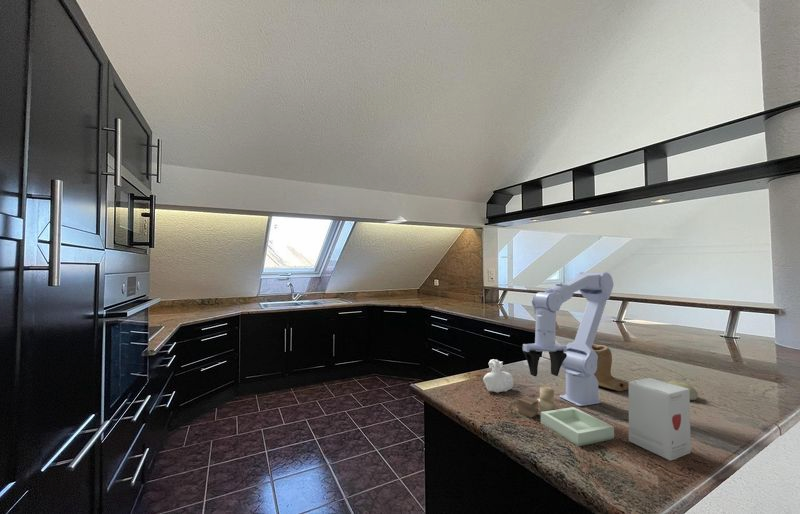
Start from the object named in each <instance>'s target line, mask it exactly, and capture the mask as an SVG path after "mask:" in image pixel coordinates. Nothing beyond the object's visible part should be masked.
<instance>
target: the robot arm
mask: <svg viewBox="0 0 800 514" xmlns="http://www.w3.org/2000/svg"><path fill="white" fill-rule="evenodd" d="M613 288H614V281H613V277H612V275H611V274H610V272H584V271H583V272H582V271H581V272H579V273H577V274H575V277H574V278H573V279H571V280H570V281H568V282H567V283H564V282H556V283H555V286H553V287H551V288H547V289H546V290H544V292H543V291H539V292H538V291H537V292H536V294H534V296H533V297H532V300H531V304H532V307H533V313H534V315H535V329H534V330H535V333H534V335H535V337H534V343H533V342H532V343H523V344H522V352H523V353H522V354H523V355H524V358H525V359H526V361H527V365H528V369H529V373H530V375H531V376H533V377H537V375H538V367H539V361H540V358H541V354H538V353H537V352H548V354H549V359H550V374H551V375H553V376H555V377H558V376H559V373H560V370H561V367H562V368H563V371H564V372H565V394H560V395H559V398H561V399H563V400H565V401H568V402H569V403H572V404H574V405H576V406H578V407H583V406H591V405H597V404H601V403H602V402H601V400H599V386H598V380H597V378H596V377H595V375H594V373H595V372H596V370H597V359H598V355H597V354H596V352H595V351H594V350H593V349H592V345H594V342H595V338H596V335H597V333H598V328H599V326H600V323H601V319H602V317H603V313H604V312H605V311H604V310H605V309H606V308H605V307H606V304H607V301H608V300H609V299H610V297H611V295H612V291H613ZM578 291H579V292H580V294H581V295H582V297H583V298H585V299H586V301H587V302H586V305H585V308H584V312H583V314H582V317H581V319H580V323H579V325H578V326H579V327H578V329H577V332H576V335H575V338H574V340H573V341H572V342H569V343H568V344H566V345H564V344H556V333H557V332H556V325H557V323H556V321H557V312H559V310H560V309H561V307H562V305H563V303H566V302H567V301H569V300H570V299H572V298H573V296H574V294H575V293H576V292H578Z"/></svg>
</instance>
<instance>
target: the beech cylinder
mask: <svg viewBox="0 0 800 514" xmlns="http://www.w3.org/2000/svg"><path fill="white" fill-rule="evenodd" d="M539 409H540V410H542V411H543V412H544V411H551V410H555V390H554V388H552V387H549V386H540V387H539Z"/></svg>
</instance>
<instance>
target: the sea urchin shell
mask: <svg viewBox="0 0 800 514" xmlns="http://www.w3.org/2000/svg"><path fill="white" fill-rule="evenodd" d="M665 382H666V383H669V384H673V385H677V386H680V387H684V388H687V389H689V394H690V401H696V400H697V399H698V396H699V395H698V392H697V390H696V389H695V388H694V387H693V386H692V385H690V384H688V383H686V382H683V381H679V380H669V381H665Z"/></svg>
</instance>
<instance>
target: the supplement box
mask: <svg viewBox="0 0 800 514" xmlns="http://www.w3.org/2000/svg"><path fill="white" fill-rule="evenodd" d="M628 382H629V389H628V442H630V443H632V444H634V445H636V446H638V447H640V448H643V449H644V450H647V451H648V452H651V453H653V454H656V455H657V456H660V457H662V458H664V459H666V460H668V461H673V460H677V459H678V458H680V457H684V456H686V455H689V454H691V450H692V449H691V448H692V447H691V445H692V443H691V407H690V406H691V405H690V403H691V400H690V394H689V389H687V388H684V387H680V386H677V385H673V384H669V383H666V382H667V381H661V380H658V379H655V378H652V377H647V378H639V379H636V380H629V381H628Z"/></svg>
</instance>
